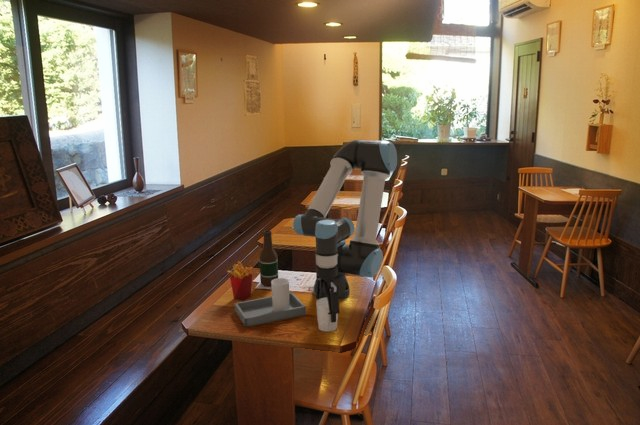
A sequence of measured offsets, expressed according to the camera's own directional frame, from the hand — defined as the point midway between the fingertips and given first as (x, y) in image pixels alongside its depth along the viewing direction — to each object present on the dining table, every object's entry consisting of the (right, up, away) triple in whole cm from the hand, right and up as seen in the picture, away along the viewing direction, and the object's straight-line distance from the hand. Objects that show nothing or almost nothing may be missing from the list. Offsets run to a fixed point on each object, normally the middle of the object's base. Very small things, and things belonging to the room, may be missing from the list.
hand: (327, 324), depth 187 cm
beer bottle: (-25, +9, +41) cm, 48 cm away
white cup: (0, -1, 0) cm, 1 cm away
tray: (-22, +2, +12) cm, 25 cm away
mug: (-17, +3, +15) cm, 22 cm away
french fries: (-36, +5, +27) cm, 45 cm away
